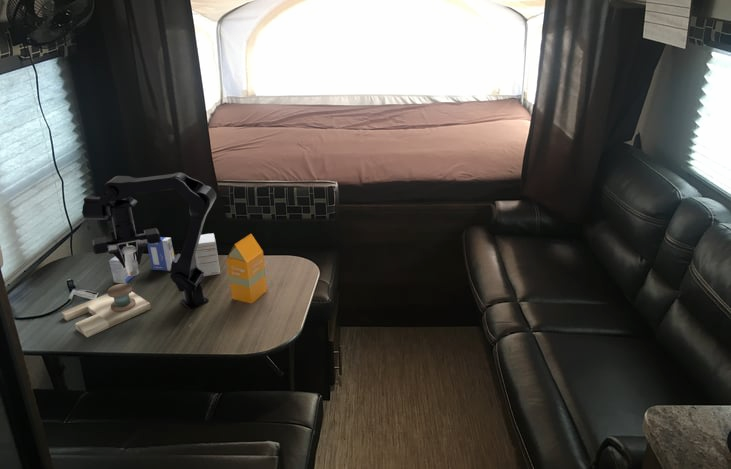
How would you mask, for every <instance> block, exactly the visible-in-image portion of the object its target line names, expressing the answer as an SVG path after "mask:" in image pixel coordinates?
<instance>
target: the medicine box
mask: <svg viewBox="0 0 731 469" xmlns="http://www.w3.org/2000/svg"><path fill="white" fill-rule="evenodd" d="M121 254H122V253H121ZM123 260H124V259H123ZM108 262H109V267H110V270H111V275H112V277H113V278H112V279H113V282H114V283H116V284H128V283H129V281H130V280H132V279H133V278H134V277H135V276H136V275H134V276H129V275H128V273H127V269H126V266H125V268H124V267H123V265H122V264H121V263H120V261H119V260H118V258H117V257H116V256H115V255H114V257H112V258H110V260H108ZM124 263H125V262H124Z"/></svg>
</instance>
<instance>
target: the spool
mask: <svg viewBox="0 0 731 469" xmlns="http://www.w3.org/2000/svg"><path fill="white" fill-rule="evenodd" d="M131 292H133V286H132V284H130V283H116V284H115V285H112V286H110V287H109V288H108V289H107V291H106V294H108V296H110V297H113V298H114V302H113V303H112V304H111V309H112V310H113V311H115V312H123V311H127V310H129V309H131V308H133V307H134V306H135V304H136V302H135V299H133V298H130V297H129V293H131Z"/></svg>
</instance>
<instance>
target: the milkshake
mask: <svg viewBox="0 0 731 469" xmlns="http://www.w3.org/2000/svg"><path fill="white" fill-rule="evenodd" d="M125 245H126V246H123V247H122V248H121V249H120V252H121V253H122V257H123V259H124V262H125V266H126V269H127V273H128V275H129V276H134V275H135V276H137V275H138V274H140V270H139V265H138V257H137V247H136V246H135V245H129V243H127V244H125ZM135 276H134V277H135Z"/></svg>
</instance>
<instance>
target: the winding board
mask: <svg viewBox="0 0 731 469" xmlns="http://www.w3.org/2000/svg"><path fill="white" fill-rule="evenodd" d="M129 297H130V298H133V299H135V302H136V304H135V306H134V307H133V308H131V309H129V310H127V311H123V312H115V311H113V310H112V309H111V304H112V303H113V302H114V298H113V297H110V296H108V293H105V294H103V295H100V296H99V297H96V298H94V299H90V300H88V301H86V302H84V303H81V304H78V305H75V306H74V307H71V308H69V309H66V310H64V311H62V312H61V314H62V318H63V319H64V320H65V321H67V322H68V321H71V320H72V319H73V320H74V319H75V318H78V317H81V316H82V315H85V314H88V313H89V314H91V315H92V316H89V317H86V318H84V319H82V320H80V321H78V322H75V329H76V330H77V331H78V332H79V333H81V334H82V335H84V336H85V337H86V338H89V337H92V336H94V335H96V334H98V333H100V332H102V331H105V330H107V329H109V328H111V327H113V326H116V325H118V324H120V323H122V322H125V321H127V320H129V319H132V318H133V317H135V316H138V315H140V314H142V313H145V312H147V311H149V310H151V309H152V308H151V307H152V305H151V303H150V302H149V301H148V300H145V299H144V298H143V297H141V296H140V295H138V294H137V293H135V292H133V291H132V292H131V293H129Z"/></svg>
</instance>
